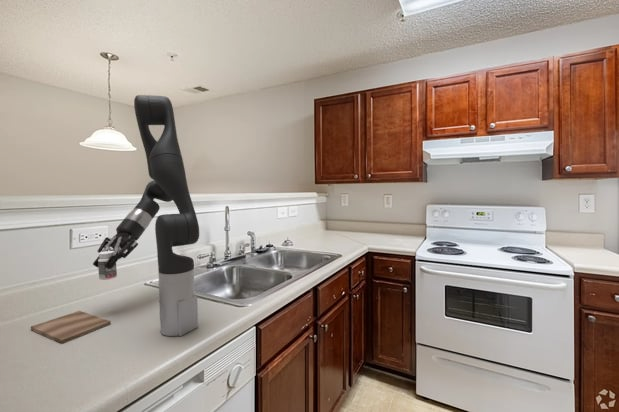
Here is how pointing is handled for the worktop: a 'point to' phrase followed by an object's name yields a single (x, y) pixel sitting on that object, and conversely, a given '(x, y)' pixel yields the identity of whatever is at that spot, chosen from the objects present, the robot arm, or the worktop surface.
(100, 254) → the pill bottle
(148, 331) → the worktop surface
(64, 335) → the walnut board
